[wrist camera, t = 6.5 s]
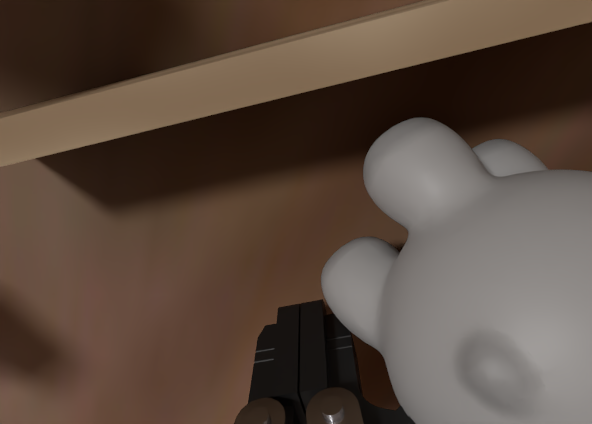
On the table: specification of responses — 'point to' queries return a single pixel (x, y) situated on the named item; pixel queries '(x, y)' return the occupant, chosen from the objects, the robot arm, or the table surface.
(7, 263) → the table surface
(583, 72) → the table surface
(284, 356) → the robot arm
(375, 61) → the trap channel
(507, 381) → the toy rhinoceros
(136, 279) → the table surface
